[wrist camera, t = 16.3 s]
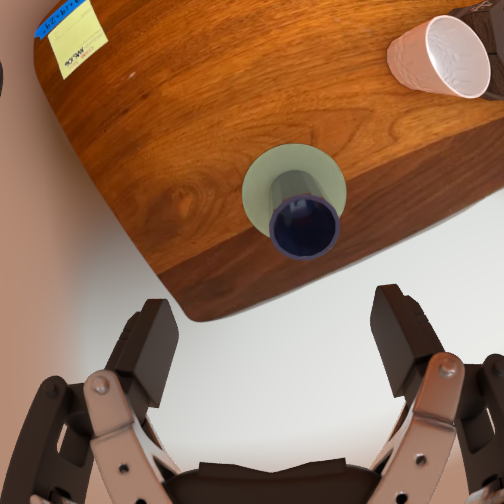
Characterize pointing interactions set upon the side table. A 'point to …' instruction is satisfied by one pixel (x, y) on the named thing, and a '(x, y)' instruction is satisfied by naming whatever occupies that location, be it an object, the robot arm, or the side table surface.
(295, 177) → the tumbler
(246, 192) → the mat
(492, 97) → the mug
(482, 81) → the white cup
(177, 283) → the side table surface
